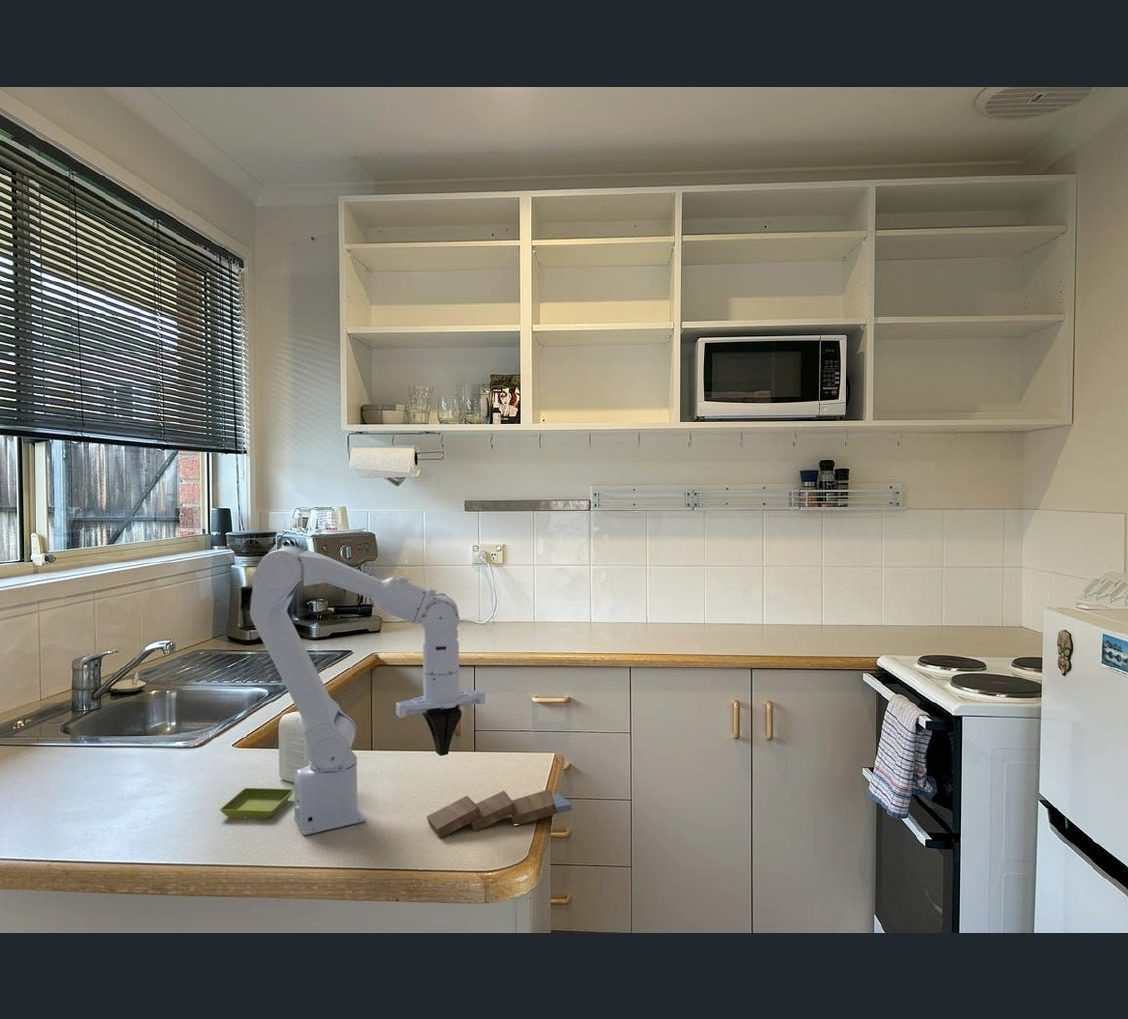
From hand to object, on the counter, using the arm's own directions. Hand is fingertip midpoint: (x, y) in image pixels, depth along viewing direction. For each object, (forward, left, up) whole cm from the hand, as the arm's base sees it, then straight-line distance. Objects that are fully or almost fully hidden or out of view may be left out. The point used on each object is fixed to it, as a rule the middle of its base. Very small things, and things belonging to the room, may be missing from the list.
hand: (442, 753), depth 123 cm
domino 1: (-4, -7, -9) cm, 12 cm away
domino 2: (+2, -7, -9) cm, 11 cm away
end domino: (+11, -8, -9) cm, 17 cm away
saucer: (-26, +16, -10) cm, 32 cm away
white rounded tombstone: (-17, +24, -10) cm, 31 cm away
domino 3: (+8, -9, -8) cm, 15 cm away
